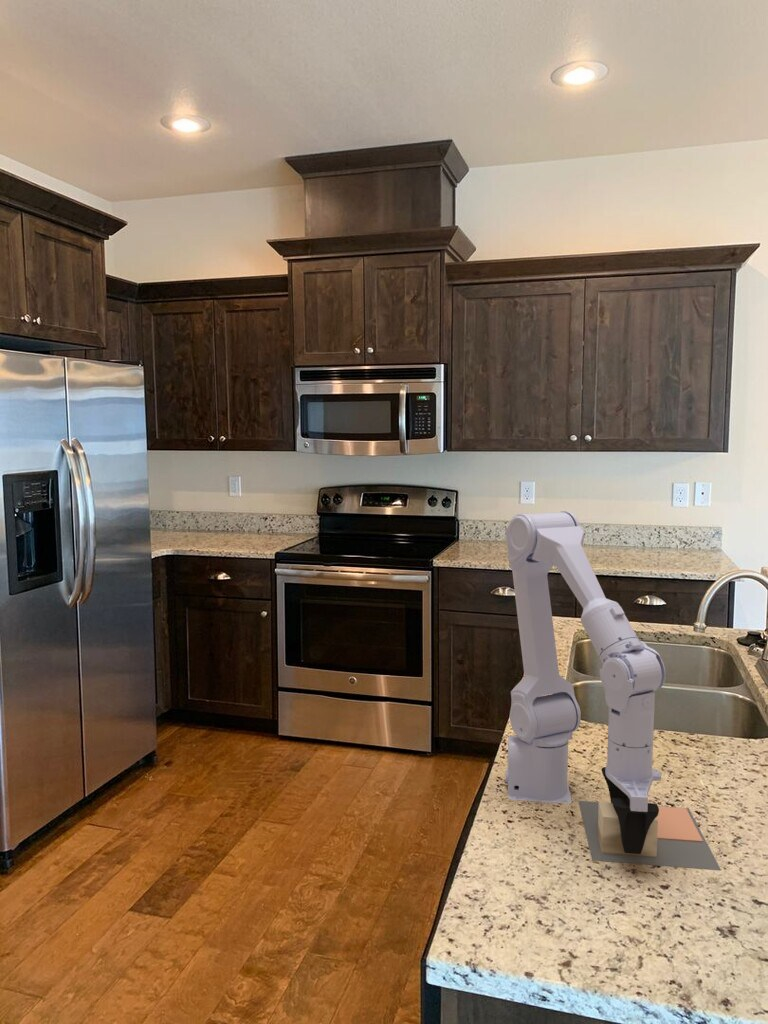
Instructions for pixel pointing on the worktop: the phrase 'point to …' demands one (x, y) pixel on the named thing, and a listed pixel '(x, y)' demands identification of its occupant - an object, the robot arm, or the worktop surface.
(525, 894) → the worktop surface
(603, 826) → the birch block
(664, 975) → the worktop surface
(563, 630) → the worktop surface
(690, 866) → the rubber mat
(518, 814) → the worktop surface
